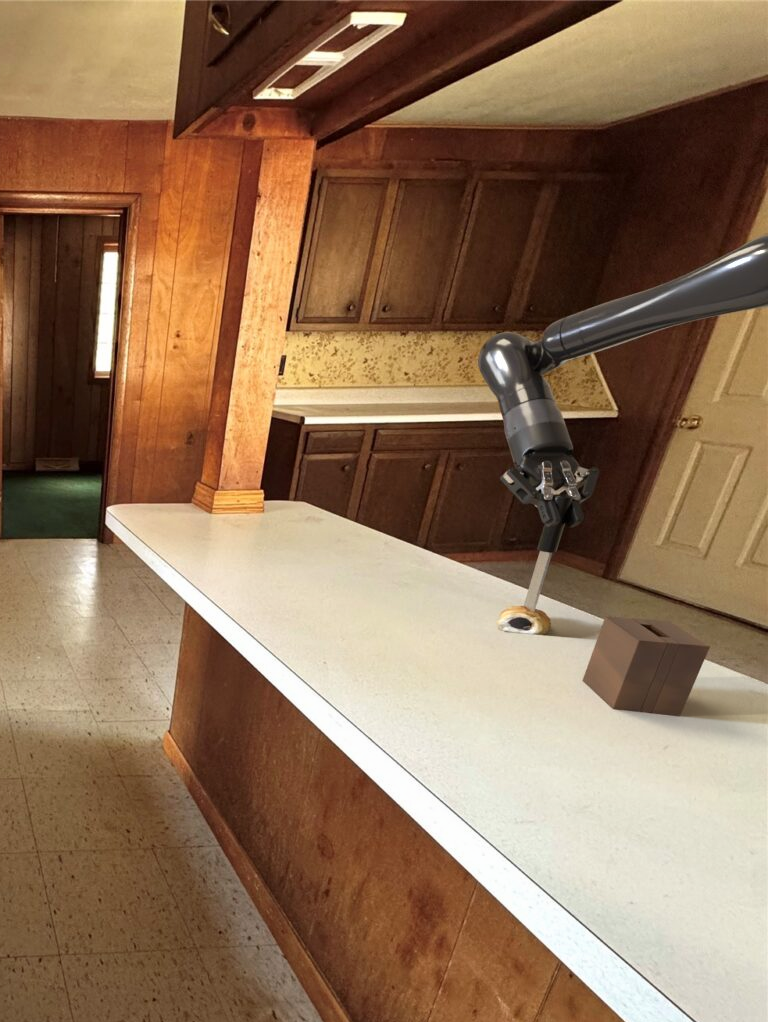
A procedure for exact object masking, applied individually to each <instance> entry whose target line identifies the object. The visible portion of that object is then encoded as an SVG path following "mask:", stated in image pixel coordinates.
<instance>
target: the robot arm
mask: <svg viewBox="0 0 768 1022" xmlns="http://www.w3.org/2000/svg"><path fill="white" fill-rule="evenodd" d="M765 308H768V233H764V234H762V235H759V236H757V237H754V238H752V239H751V240H748V241H746V242H745V243H744V244H742V245H741V246H739V247H737V248H736V249H734V250H732V251H729V252H728V253H726V254H724V255H723V256H720V257H717V258H716V259H715V260H712V261H711V262H709V263H707V264H705V265H703V266H700V267H699V268H697V269H695V270H693V271H690V272H688V273H686V274H684V275H681V276H678V277H677V278H675V279H672V280H669V281H667V282H665V283H661V284H660V285H657V286H654V287H651V288H649V289H646V290H641V291H639V292H636V293H632V294H629V295H625V296H622V297H619V298H616V299H612V300H609V301H606V302H603V303H600V304H598V305H594V306H591V307H588V308H586V309H583V310H580V311H578V312H575V313H573V314H570V315H567V316H565V317H562V318H560V319H558V320H555V321H553V322H552V323H550V324H549V325H548V326H547V327H546V328H545V330H544V331H543V332H542V337H541V339H540V340H532V339H530V338H528V337H526V336H524V335H522V334H519V333H517V332H512V331H504V332H503V331H502V332H499V333H496V334H494V335H492V336H491V337H489V338H488V339H487V340H486V341H485V342H484V343H483V345H482V346H481V347H480V350H479V352H478V356H477V366H478V370H479V373H480V374H481V376H482V378H483V380H484V381H485V383H486V384H487V386H488V388H489V389H490V391H491V393H492V394H493V395H494V396H495V398H496V400H497V402H498V407H499V411H500V415H501V417H502V420H503V430H504V435H505V438H506V441H507V444H508V448H509V452H510V454H511V458H512V462H513V464H514V466H515V467H510V468H508V469H507V471H505V472H504V473H503V474H502V475H501V476H500V477H499V480H500V482H501V483H503V484H504V486H506V487H507V488H508V490H509V491H510V492H511V493H512V494H513V495H514V496H515V497H516V498H517V499H518V500H519V501H520V502H521V503H522V504H523V505H528V504H531V505H534V506H535V507H536V508H537V511H538V514H539V517H540V520H541V522H542V523H543V525H544V524H546V526H547V527H554V526H555V525H557V524H558V523H559V522H560V520H561V519H560V516H559V512H558V509H557V506H556V503H555V501H551V500H552V499H553V495H555V494H564V495H570V496H573V499H572V502H571V505H570V509H569V512H568V515H567V518H566V522H565V525H566V527H567V528H575V527H577V526H578V525H580V524H581V523H582V522H583V521H584V519H585V516H584V513H583V510H582V507H581V504H582V503H583V502H584V501H586V500H587V499H589V498H590V497H592V496H593V493H594V490H595V487H596V483H597V481H598V477H599V475H600V469H599V468H598V467H595V466H594V467H591V468H589V469H588V468H585V467H582V466H580V465H579V462H578V461H577V460H576V459H575V458H574V456H573V451H574V445H573V442H572V440H571V437H570V434H569V431H568V428H567V424H566V422H565V419H564V416H563V414H562V411H561V410H560V408H559V407H558V404H557V402H556V399H555V396H554V393H553V390H552V388H551V385H550V383H549V382H548V380H547V379H546V378H545V377H544V375H547V374H548V373H550V372H552V371H554V370H555V369H558V368H559V367H562V366H563V365H565V364H566V363H569V362H570V361H572V360H576V359H579V358H583V357H586V356H590V355H592V354H595V353H599V352H603V351H605V350H608V349H611V348H615V347H617V346H620V345H623V344H626V343H628V342H630V341H631V342H632V341H634V340H636V339H639V338H642V337H645V336H648V335H650V334H654V333H656V332H659V331H662V330H665V329H668V328H671V327H675V326H679V325H683V324H686V323H690V322H695V321H699V320H703V319H707V318H712V317H718V316H723V315H724V316H725V315H729V314H735V313H740V312H746V311H751V310H757V309H765Z"/></svg>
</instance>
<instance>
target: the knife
mask: <svg viewBox="0 0 768 1022" xmlns="http://www.w3.org/2000/svg"><path fill="white" fill-rule="evenodd" d="M572 499H573V496H570V495H564V494H555V495H554V494H553V499H552V500H551V501H555V503H556V506H557V509H558V512H559V516H560V519H561V520H560V522H559V523H558V524H557V525H555V526H554V527H547V526H546V524H544V523H543V527H542V531H541V534H540V538H539V542H538V544H537V548H536V550H537V551H538V552H539V553H538V557H537V560H536V562H535V567H534V569H533V573H532V577H531V579H530V583H529V586H528V589H527V593H526V596H525V600H524V603H523V606H525V607H526V608H527V609H529V610H530V611H531V612H534V611H535V609H537V604H538V601H539V599H540V595H541V592H542V588H543V585H544V582H545V579H546V575H547V573H548V568H549V565H550V562H551V560H552V556H553V554H554V553H557V551H558V547H559V544H560V541H561V537H562V535H563V532H564V528H565V526H566V518H567V515H568V512H569V509H570V505H571V502H572Z"/></svg>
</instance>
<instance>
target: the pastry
mask: <svg viewBox="0 0 768 1022" xmlns="http://www.w3.org/2000/svg"><path fill="white" fill-rule="evenodd" d="M496 625H497V627H498V629H499V630H500V631H503V632H508V633H511V634H524V635H532V636H533V635H535V636H544V635H546V634H548V633H549V631H550V628H551V626H552V622H551V619H550V617H549V616H548V614H547V613H546V612H545V611H543V610H541V609H537V608H535V611H534V612H531V611H530V610H529V609H527V608H526V607H525V606H524V605H517V606H514V605H513V606H509V607H507V608H506V609H504V610H502V611H501V612H500V613H499V618H498V620H496Z"/></svg>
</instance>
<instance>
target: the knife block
mask: <svg viewBox="0 0 768 1022" xmlns="http://www.w3.org/2000/svg"><path fill="white" fill-rule="evenodd" d="M710 648H711V646H710V645H709V644H707V643H705V641H704V642H703V641H702V640H700V639H699V638H697V637H696V636H695V635H692V634H691V633H689V632H688V631H686V630H684V629H683V628H682V627H680V626H678V625H677V624H675V623H674V622H672V621H670V620H661V619H647V618H634V617H632V618H631V617H618V616H609V615H608V616H605V617H604V619H603V621H602V625H601V628H600V630H599V633H598V636H597V639H596V642H595V644H594V647H593V650H592V653H591V655H590V659H589V661H588V664H587V667H586V669H585V672H584V674H583V678H582V683H584V684H585V685H586V686H587V687H588V688H589V689H590V690H591V691H592V692H594V694H596V695H597V696H598V697H599V698H600V699H601V700H602V701H603V702H604V703H605V704H607V706H608V707H610V708H611V709H612V710H615V711H616V710H617V711H624V712H625V711H626V712H636V713H645V714H653V715H661V716H673V717H681V715H682V712H683V710H684V708H685V707H686V705H687V704H686V703H687V701H688V700H689V696H690V694H691V692H692V689H693V687H694V685H695V684H696V683H695V682H696V680H697V679H698V676H699V674H700V671H701V670H702V669H701V668H702V667H703V664H704V662H705V659H706V657H707V655H708V653H709V651H710Z"/></svg>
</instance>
